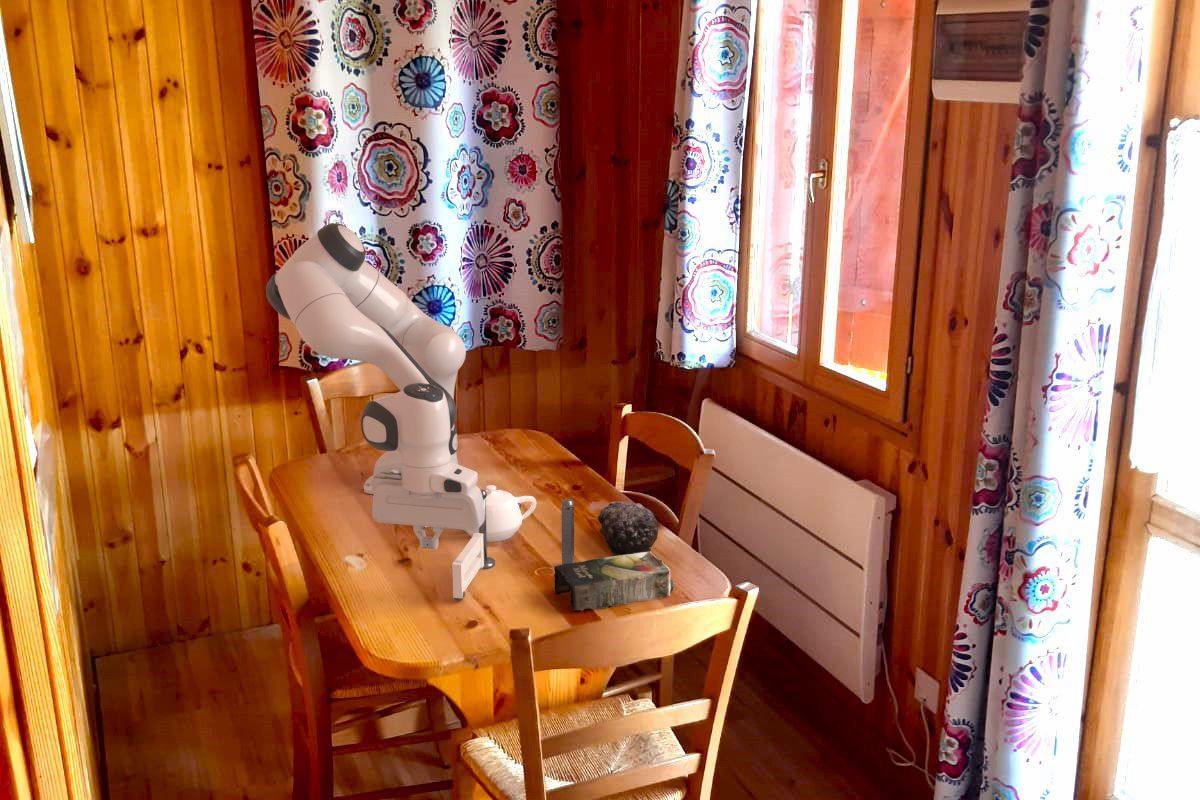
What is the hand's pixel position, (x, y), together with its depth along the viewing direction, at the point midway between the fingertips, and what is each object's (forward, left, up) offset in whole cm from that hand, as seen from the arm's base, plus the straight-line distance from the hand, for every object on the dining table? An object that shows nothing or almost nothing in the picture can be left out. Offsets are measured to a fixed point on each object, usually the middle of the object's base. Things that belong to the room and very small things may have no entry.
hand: (429, 547), depth 197 cm
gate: (+7, +2, -8) cm, 10 cm away
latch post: (+23, +14, -8) cm, 28 cm away
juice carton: (+33, +4, -9) cm, 35 cm away
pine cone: (+32, +25, -8) cm, 41 cm away
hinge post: (+7, +11, -8) cm, 15 cm away
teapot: (+4, +26, -8) cm, 28 cm away
